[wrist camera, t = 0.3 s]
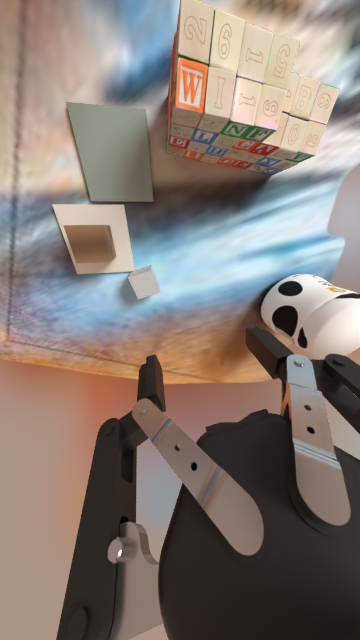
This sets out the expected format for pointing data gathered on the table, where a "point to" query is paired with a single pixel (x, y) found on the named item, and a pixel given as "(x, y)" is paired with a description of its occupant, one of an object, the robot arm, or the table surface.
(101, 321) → the table surface
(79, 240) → the walnut block
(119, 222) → the tile
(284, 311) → the milk container
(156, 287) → the grey block
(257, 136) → the stack of blocks
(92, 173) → the grey-green mat
